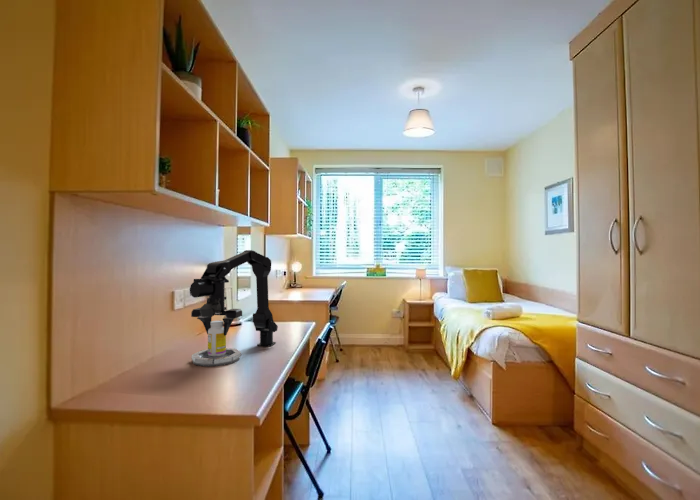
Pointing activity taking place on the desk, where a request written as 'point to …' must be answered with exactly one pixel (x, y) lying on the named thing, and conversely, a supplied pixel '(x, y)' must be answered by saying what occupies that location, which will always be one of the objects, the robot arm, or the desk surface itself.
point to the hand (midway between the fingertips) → (216, 335)
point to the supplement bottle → (216, 339)
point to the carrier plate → (216, 358)
